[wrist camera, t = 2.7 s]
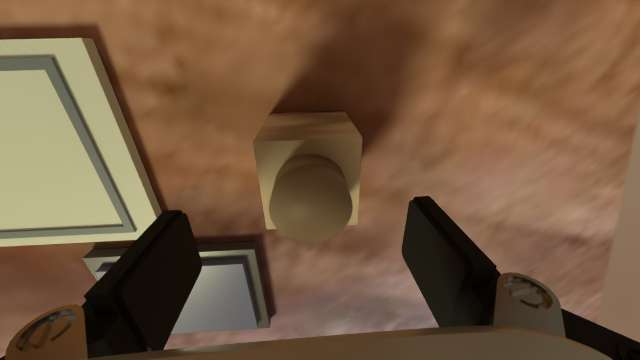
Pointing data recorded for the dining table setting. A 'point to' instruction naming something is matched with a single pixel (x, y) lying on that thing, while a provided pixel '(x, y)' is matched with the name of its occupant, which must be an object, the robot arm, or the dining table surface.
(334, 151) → the stamp
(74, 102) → the board
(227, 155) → the dining table surface
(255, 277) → the grey flat block
